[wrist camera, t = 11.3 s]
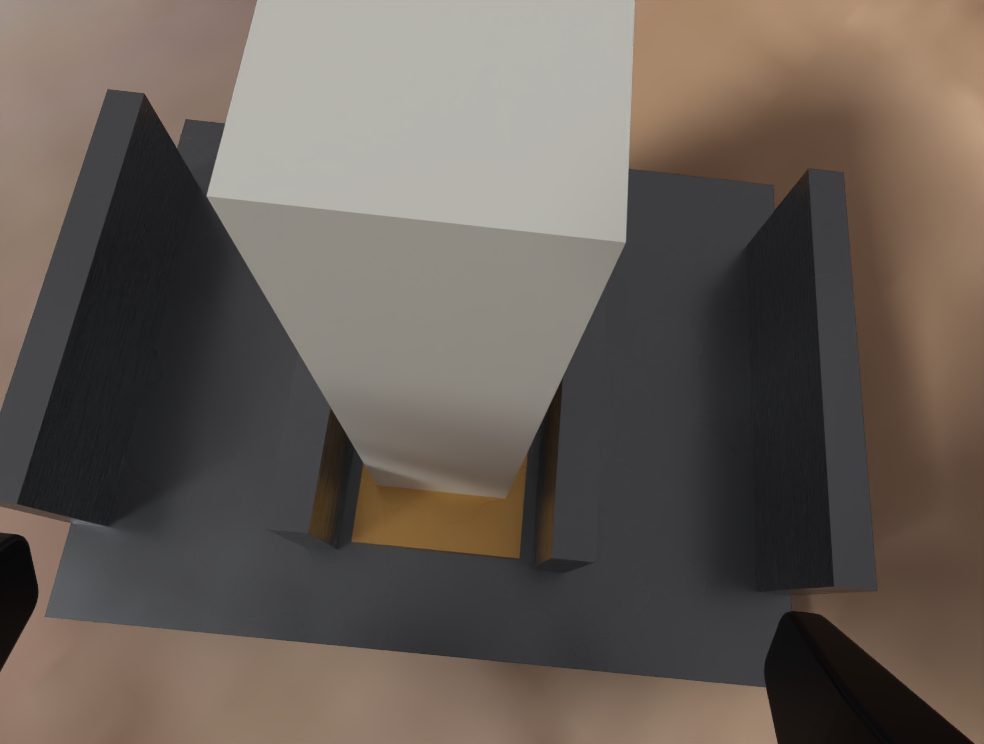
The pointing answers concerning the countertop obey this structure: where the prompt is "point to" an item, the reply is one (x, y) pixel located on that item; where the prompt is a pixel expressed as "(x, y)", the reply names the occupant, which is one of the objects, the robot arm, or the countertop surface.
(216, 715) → the countertop surface
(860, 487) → the panel rack
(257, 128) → the panel
